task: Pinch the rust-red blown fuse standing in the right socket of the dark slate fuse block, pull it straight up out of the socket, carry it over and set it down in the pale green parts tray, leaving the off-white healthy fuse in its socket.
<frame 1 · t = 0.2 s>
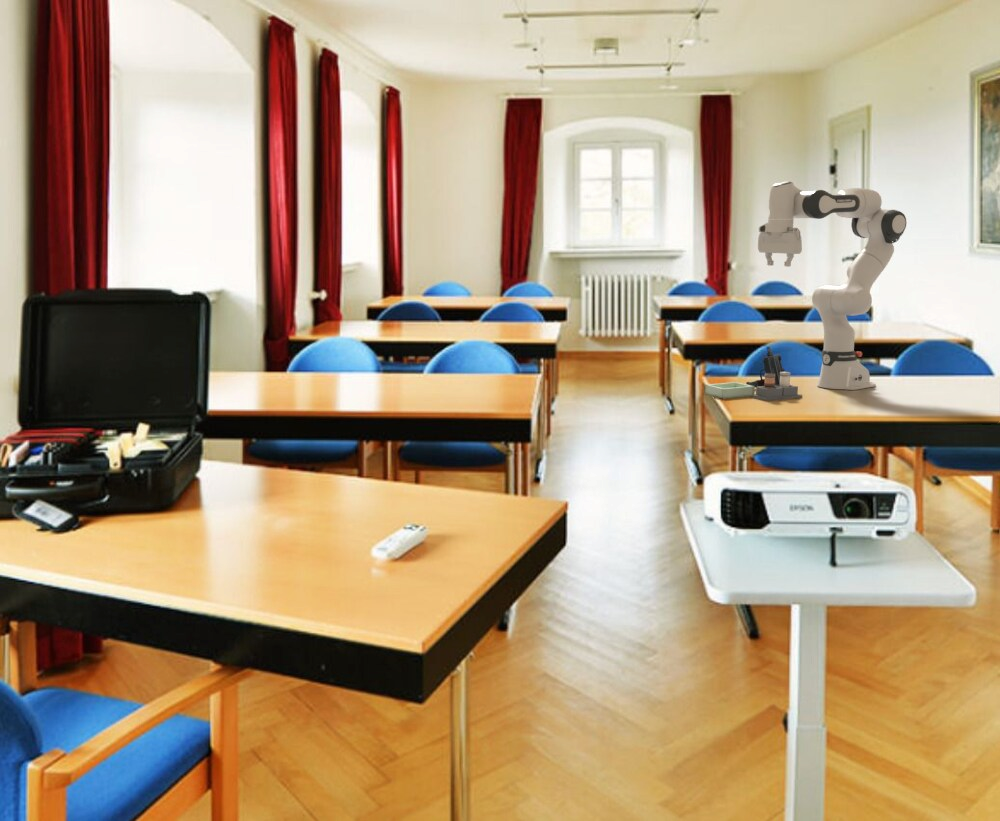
hand: (778, 265, 372), 47 cm above the table, fingers open, 8 cm apart
fuse block: (776, 397, 372), on the table
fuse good: (784, 394, 373), point 1 cm above the table, touching fuse block
fuse blown: (769, 395, 370), point 1 cm above the table, touching fuse block
gun: (766, 391, 387), on the table
tray: (729, 395, 378), on the table
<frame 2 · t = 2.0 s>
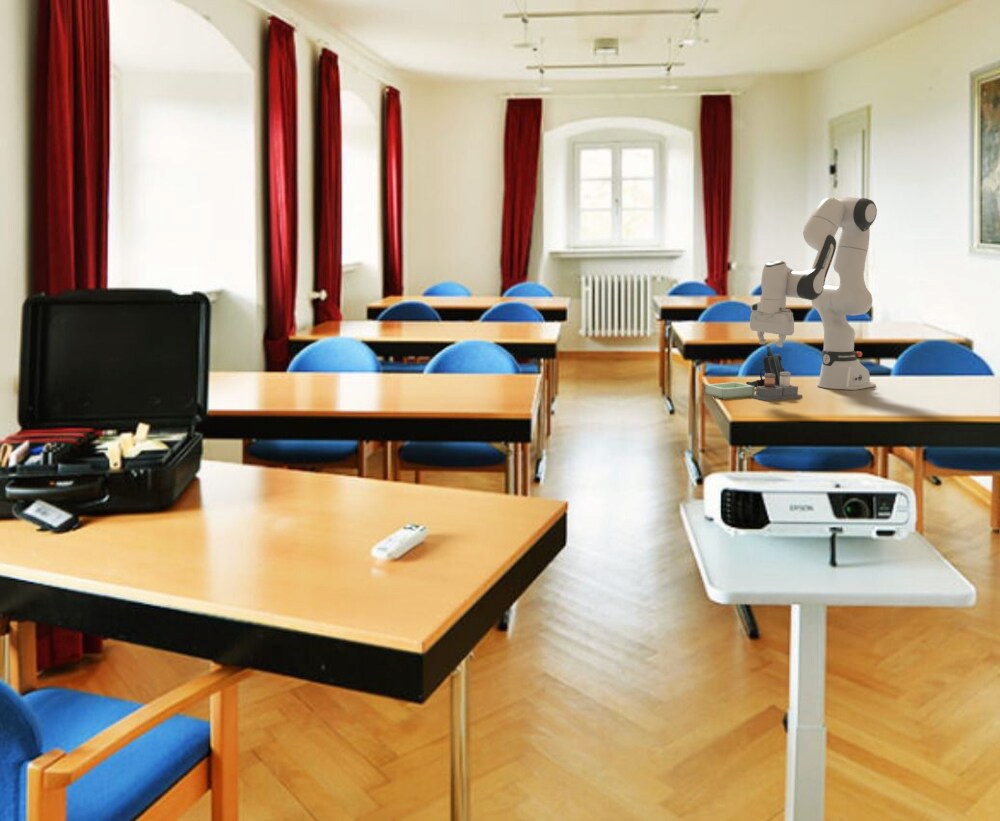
hand: (770, 345, 367), 19 cm above the table, fingers open, 8 cm apart
nothing on the table moved.
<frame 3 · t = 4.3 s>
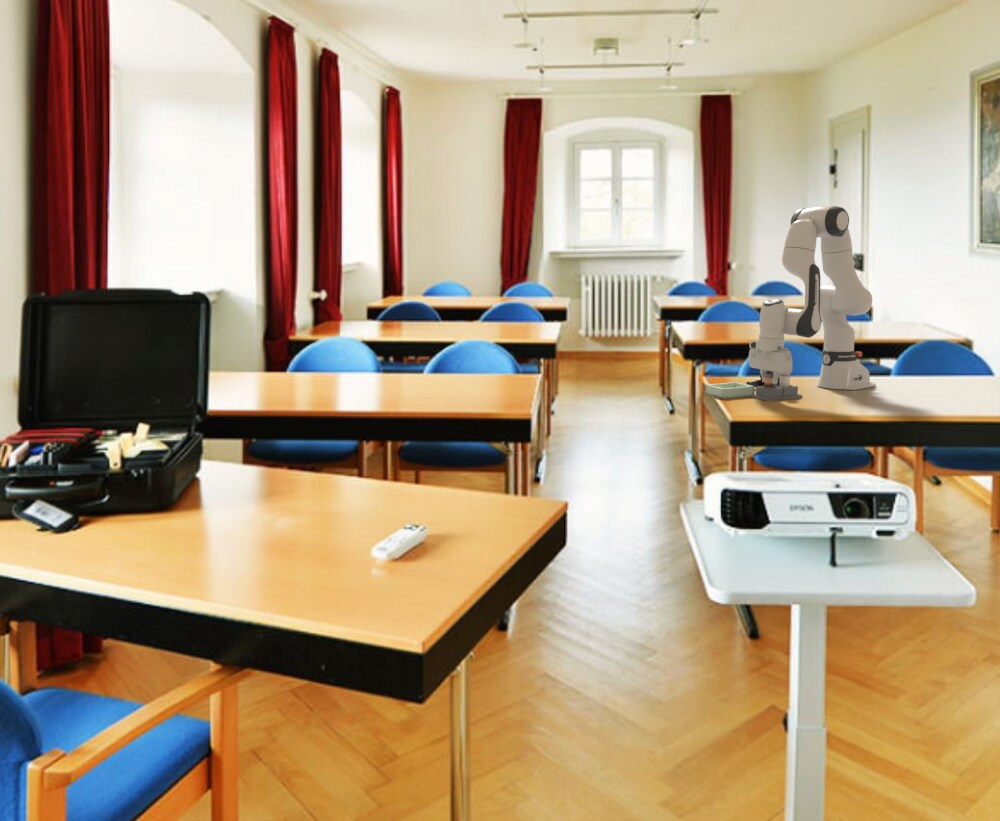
hand: (769, 383, 369), 6 cm above the table, fingers closed on fuse blown, 4 cm apart
fuse blown: (769, 395, 370), point 1 cm above the table, touching fuse block, gripper
everything else where it was.
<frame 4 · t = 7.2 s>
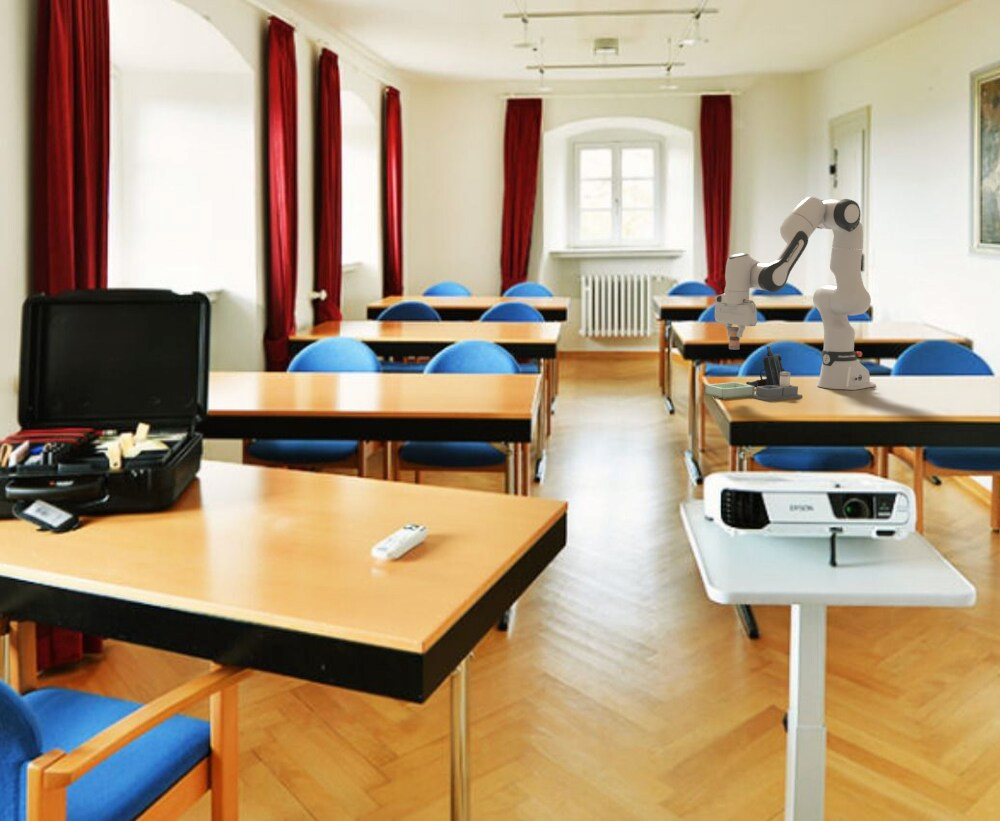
hand: (734, 336, 372), 22 cm above the table, fingers closed on fuse blown, 4 cm apart
fuse blown: (734, 349, 373), point 17 cm above the table, touching gripper
everything else where it was.
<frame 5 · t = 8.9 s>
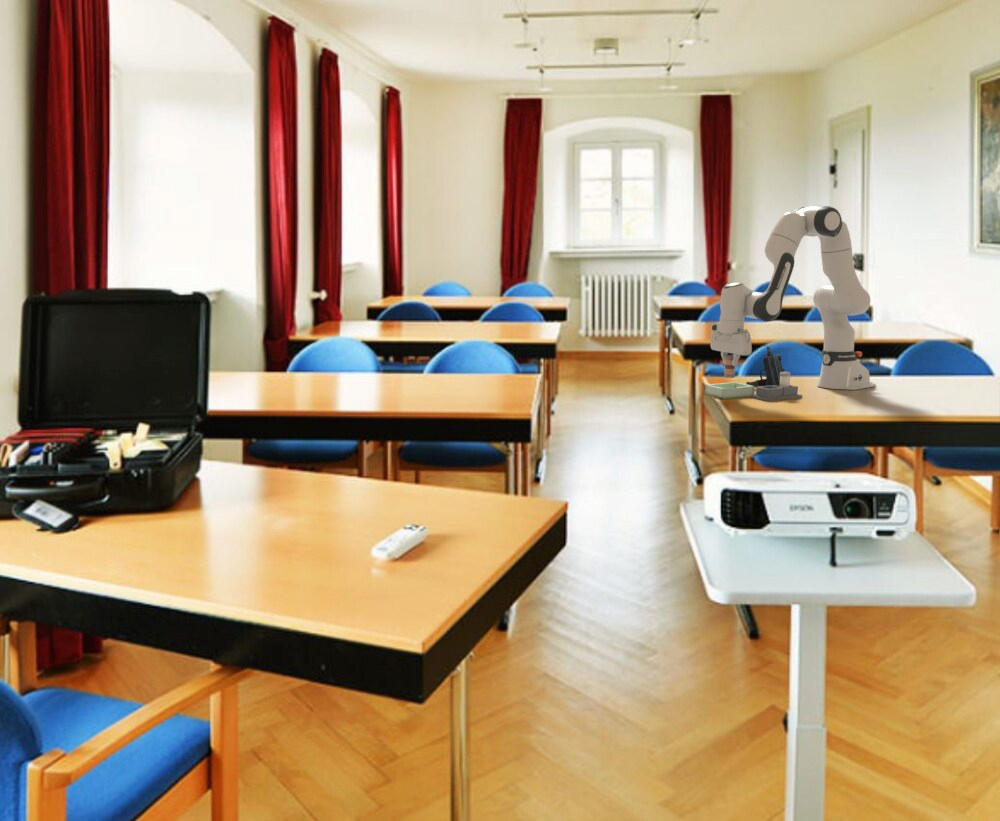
hand: (730, 364, 375), 11 cm above the table, fingers closed on fuse blown, 4 cm apart
fuse blown: (729, 377, 376), point 7 cm above the table, touching gripper
everything else where it was.
when the fingers open (6 cm above the table, at t = 10.4 s): fuse blown stays where it is, resting on tray.
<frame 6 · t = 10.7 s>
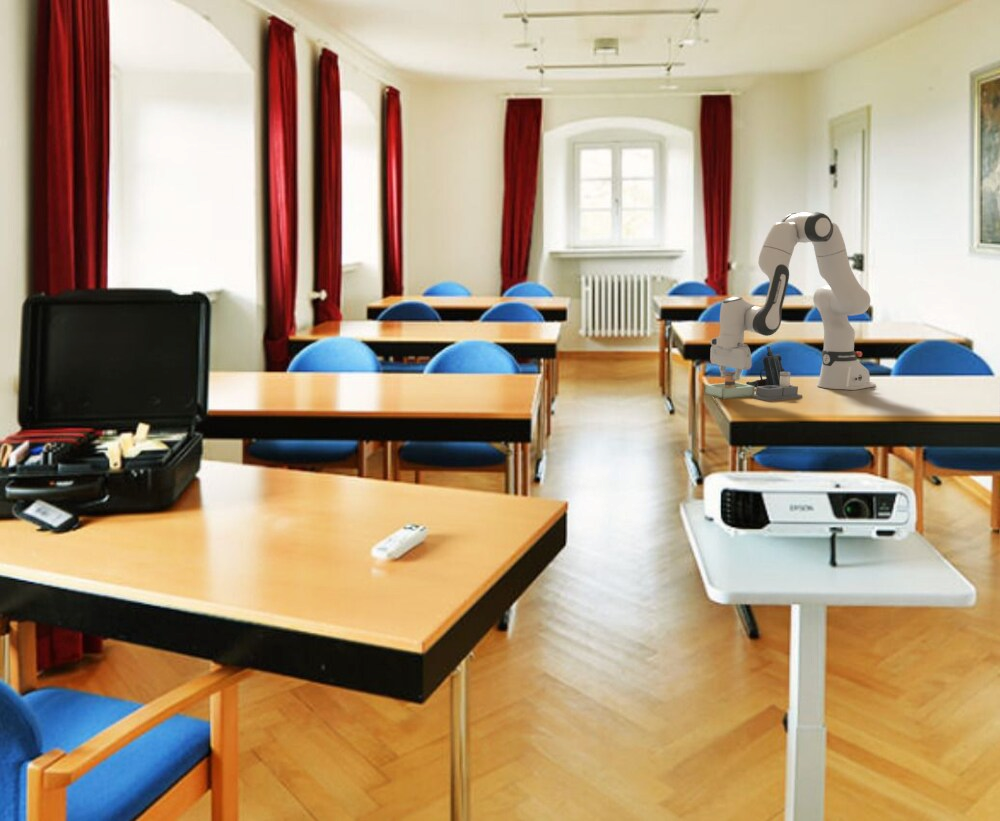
hand: (730, 378, 376), 6 cm above the table, fingers open, 6 cm apart
fuse blown: (729, 393, 377), point 1 cm above the table, touching tray
everything else where it was.
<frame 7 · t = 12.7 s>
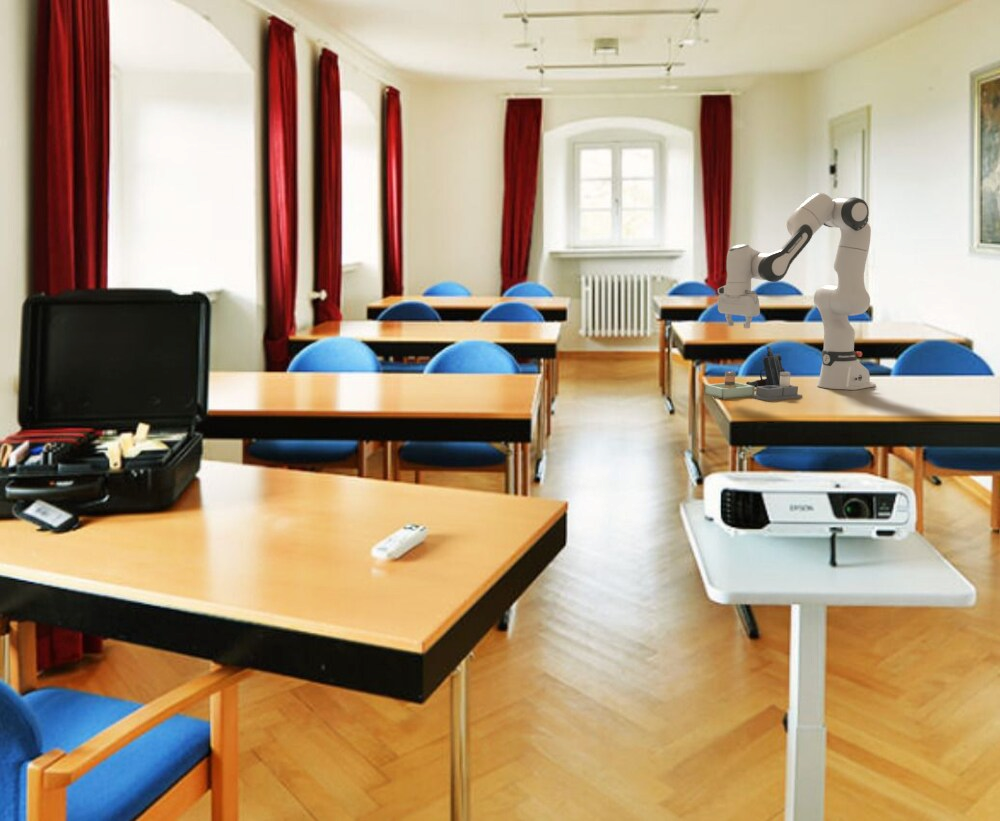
hand: (738, 327, 377), 25 cm above the table, fingers open, 8 cm apart
nothing on the table moved.
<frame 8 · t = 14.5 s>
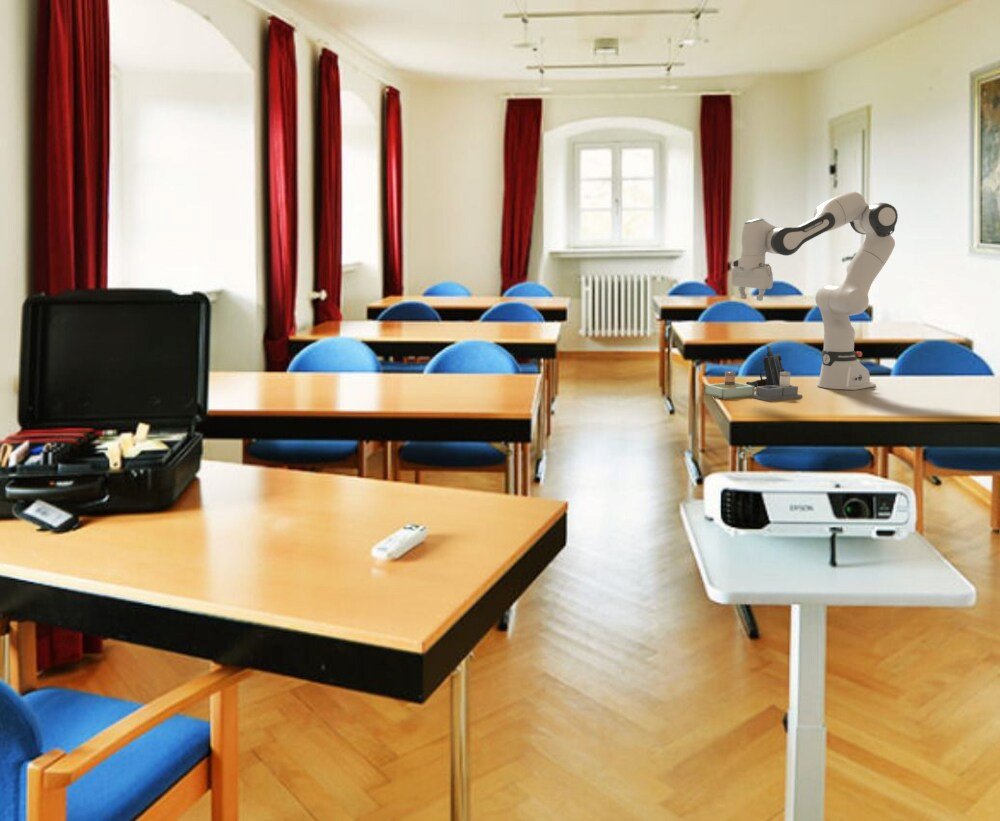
hand: (751, 299, 385), 34 cm above the table, fingers open, 8 cm apart
nothing on the table moved.
at the end: fuse blown inside the target area on the tray (0.0 cm from its centre), point 0.6 cm above the tray's base; the gripper is holding nothing; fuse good moved 0.0 cm from its start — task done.
